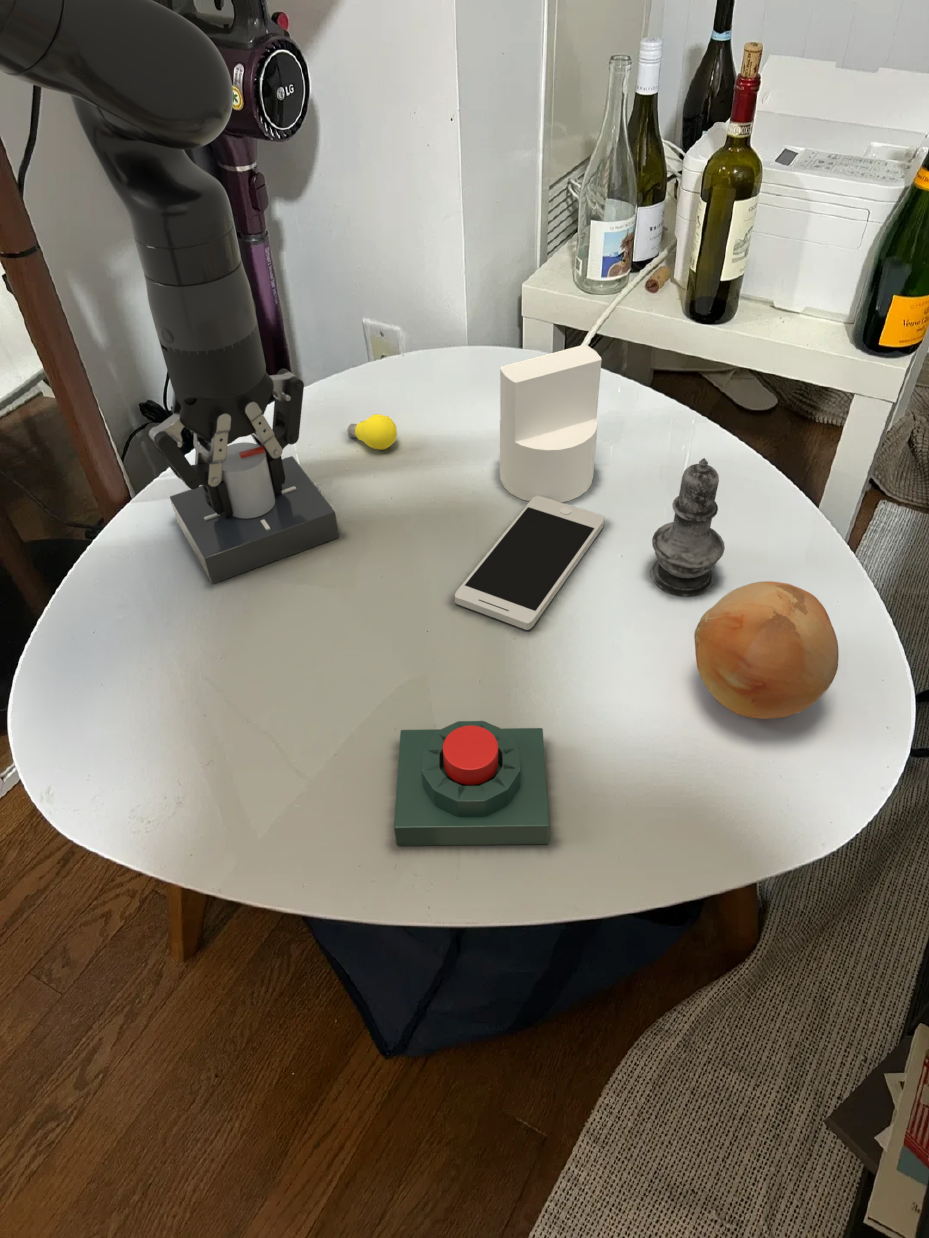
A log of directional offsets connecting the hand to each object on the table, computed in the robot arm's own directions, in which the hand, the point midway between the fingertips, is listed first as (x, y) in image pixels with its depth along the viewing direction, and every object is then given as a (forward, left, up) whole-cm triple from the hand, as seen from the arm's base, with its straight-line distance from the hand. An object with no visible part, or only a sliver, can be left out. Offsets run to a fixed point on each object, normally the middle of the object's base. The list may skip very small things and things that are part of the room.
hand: (248, 499), depth 82 cm
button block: (+3, -35, -3) cm, 36 cm away
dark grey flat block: (0, 0, -3) cm, 3 cm away
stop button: (+3, -35, 0) cm, 35 cm away
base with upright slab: (+27, -7, -4) cm, 28 cm away
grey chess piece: (+29, -25, -4) cm, 39 cm away
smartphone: (+19, -17, -3) cm, 26 cm away
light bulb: (+15, +7, -4) cm, 17 cm away
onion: (+25, -38, -4) cm, 46 cm away
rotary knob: (0, 0, 0) cm, 0 cm away
